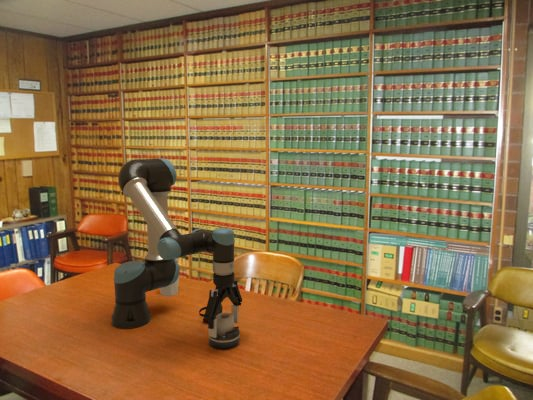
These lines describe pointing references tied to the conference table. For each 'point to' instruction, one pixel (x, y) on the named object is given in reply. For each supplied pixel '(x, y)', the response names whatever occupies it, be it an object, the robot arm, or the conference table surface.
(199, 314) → the binoculars
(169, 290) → the mug
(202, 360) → the conference table surface
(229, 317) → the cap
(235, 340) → the black round base
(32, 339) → the conference table surface
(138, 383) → the conference table surface
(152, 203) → the robot arm
